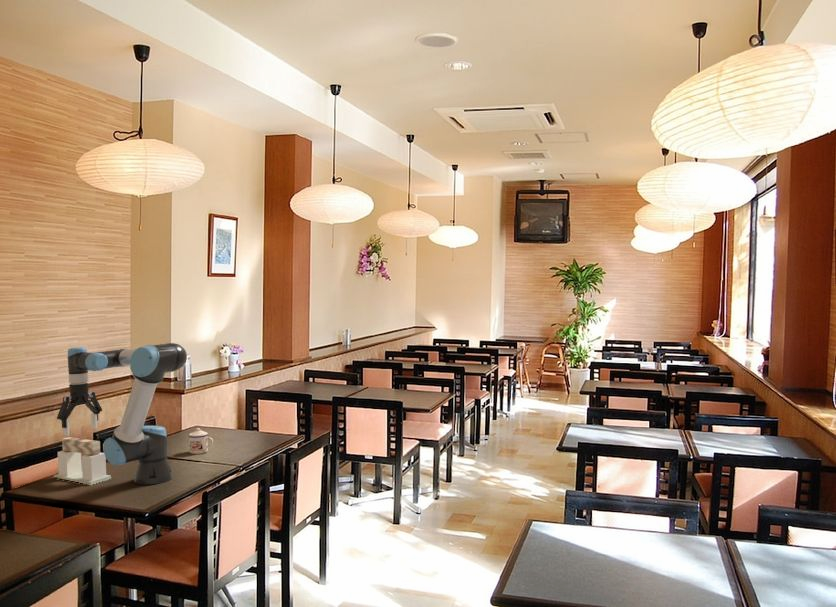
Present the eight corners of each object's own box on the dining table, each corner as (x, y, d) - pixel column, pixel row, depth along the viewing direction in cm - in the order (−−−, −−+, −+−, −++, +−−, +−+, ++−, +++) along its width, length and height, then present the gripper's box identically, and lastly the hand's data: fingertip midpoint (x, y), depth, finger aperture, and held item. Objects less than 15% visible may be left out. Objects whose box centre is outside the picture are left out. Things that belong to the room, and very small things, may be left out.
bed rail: (100, 462, 298) (99, 441, 297) (93, 464, 295) (92, 443, 294) (70, 457, 307) (69, 437, 307) (63, 459, 304) (62, 438, 304)
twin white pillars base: (111, 479, 300) (110, 452, 300) (90, 485, 291) (89, 458, 291) (74, 472, 311) (73, 447, 311) (53, 478, 302) (52, 452, 302)
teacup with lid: (186, 454, 340) (185, 430, 340) (193, 449, 350) (193, 426, 349) (209, 454, 339) (208, 430, 339) (216, 449, 348) (216, 426, 348)
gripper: (98, 378, 312) (100, 425, 313) (46, 387, 290) (48, 437, 291) (109, 379, 309) (111, 426, 310) (57, 387, 287) (60, 438, 288)
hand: (80, 432), depth 300 cm, fingers open, 13 cm apart
